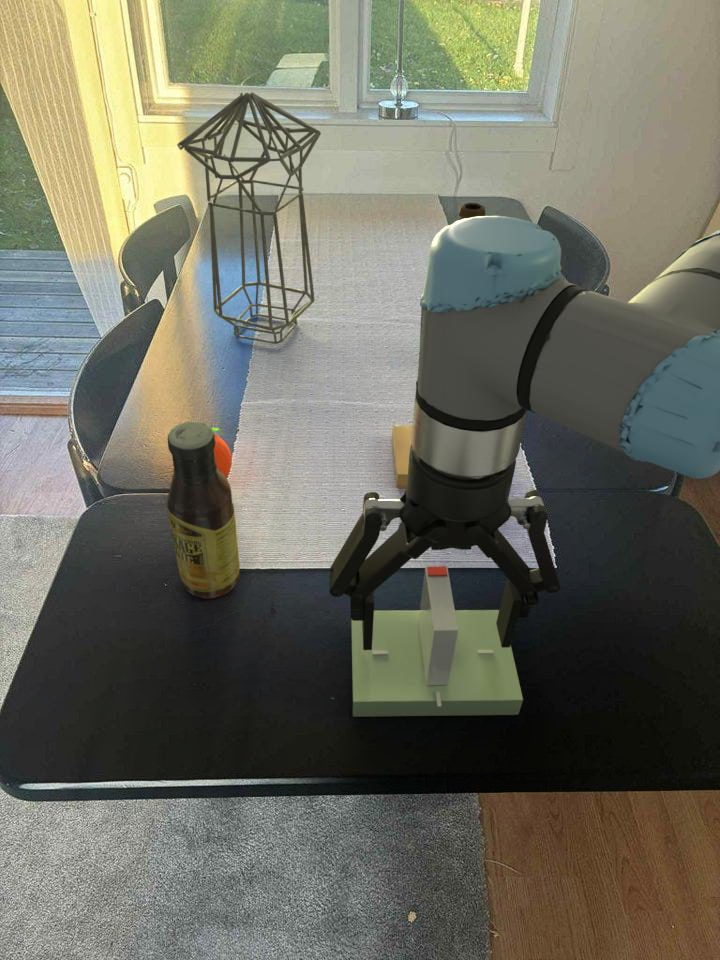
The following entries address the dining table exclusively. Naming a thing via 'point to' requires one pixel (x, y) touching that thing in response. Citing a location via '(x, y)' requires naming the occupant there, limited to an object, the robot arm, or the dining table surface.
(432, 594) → the grey upright flat block
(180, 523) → the sauce bottle
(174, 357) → the dining table surface
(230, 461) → the clementine
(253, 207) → the geometric lantern
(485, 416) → the robot arm
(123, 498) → the dining table surface
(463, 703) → the plate
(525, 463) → the dining table surface
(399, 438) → the button block
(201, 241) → the dining table surface
